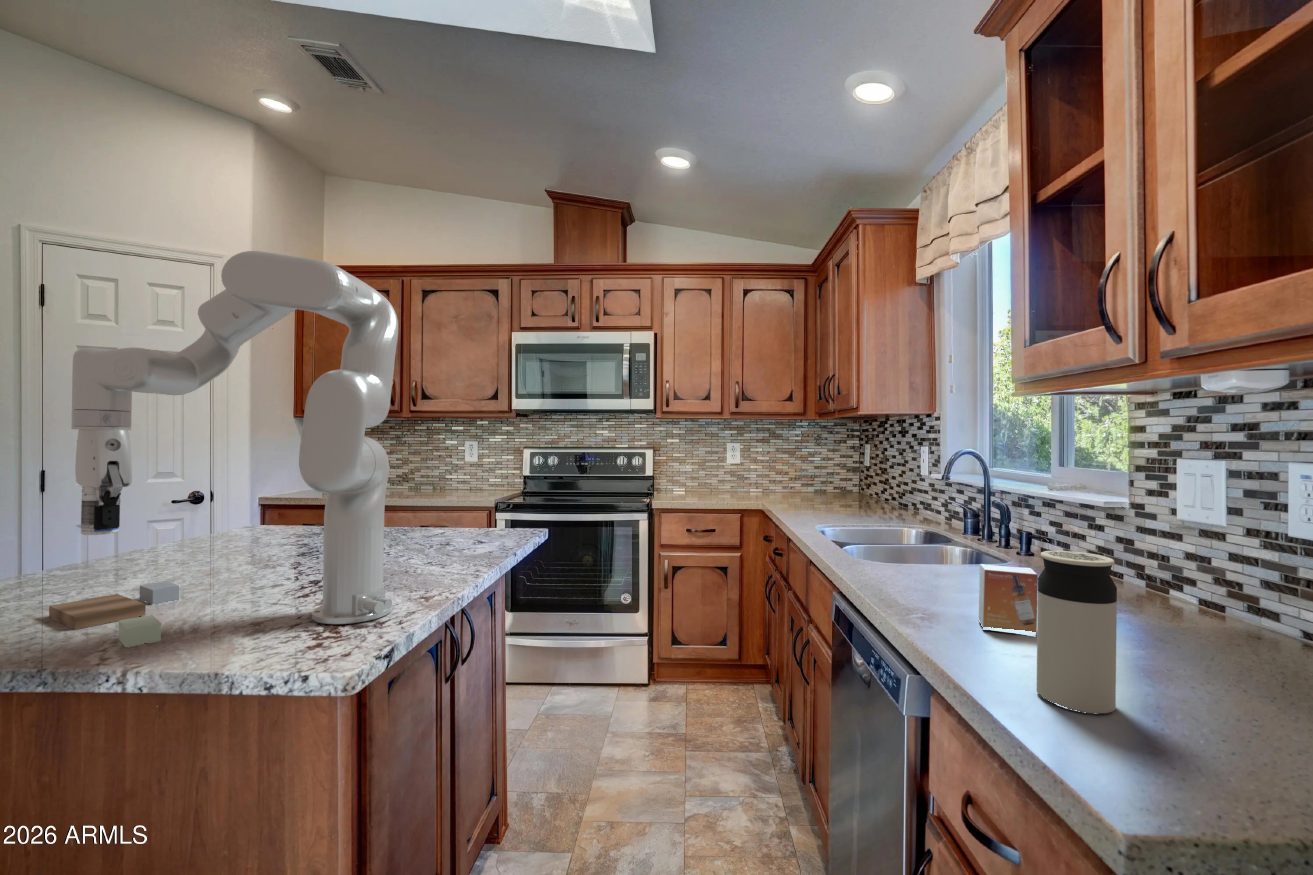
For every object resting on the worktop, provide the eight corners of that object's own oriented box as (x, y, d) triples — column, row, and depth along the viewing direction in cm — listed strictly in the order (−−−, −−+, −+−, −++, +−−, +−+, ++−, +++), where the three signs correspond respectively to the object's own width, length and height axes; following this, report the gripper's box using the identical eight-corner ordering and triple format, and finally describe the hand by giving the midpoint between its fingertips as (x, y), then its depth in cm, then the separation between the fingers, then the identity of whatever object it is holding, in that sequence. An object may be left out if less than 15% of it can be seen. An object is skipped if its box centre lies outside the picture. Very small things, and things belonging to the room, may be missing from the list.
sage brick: (160, 642, 90) (161, 622, 90) (125, 649, 87) (126, 628, 87) (151, 633, 94) (152, 614, 94) (118, 640, 91) (118, 620, 91)
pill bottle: (100, 535, 99) (101, 485, 99) (72, 535, 99) (73, 485, 99) (126, 531, 104) (127, 483, 104) (100, 530, 104) (100, 483, 104)
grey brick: (178, 601, 112) (179, 585, 112) (152, 606, 109) (152, 589, 109) (165, 596, 115) (165, 581, 115) (139, 601, 112) (139, 585, 112)
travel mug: (1089, 721, 68) (1091, 564, 68) (1022, 693, 75) (1023, 552, 75) (1130, 709, 71) (1132, 559, 71) (1062, 683, 78) (1063, 548, 78)
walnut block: (145, 615, 102) (145, 603, 102) (74, 629, 94) (75, 617, 94) (117, 604, 108) (117, 593, 108) (49, 617, 100) (49, 605, 100)
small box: (982, 631, 100) (983, 569, 100) (978, 622, 105) (978, 562, 105) (1037, 638, 97) (1038, 573, 97) (1030, 628, 102) (1031, 567, 102)
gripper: (150, 422, 100) (148, 529, 100) (111, 422, 109) (109, 520, 109) (92, 420, 94) (89, 535, 94) (54, 420, 102) (52, 525, 102)
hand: (100, 526), depth 101 cm, fingers closed on pill bottle, 4 cm apart
